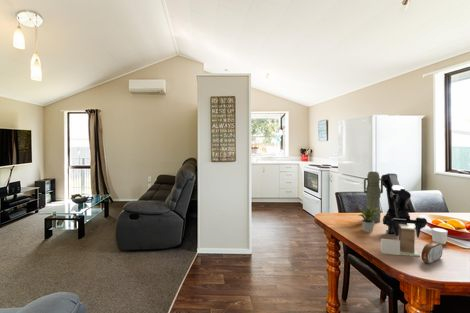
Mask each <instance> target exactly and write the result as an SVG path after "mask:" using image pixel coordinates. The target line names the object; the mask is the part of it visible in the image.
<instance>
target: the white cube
mask: <svg viewBox="0 0 470 313" xmlns="http://www.w3.org/2000/svg"><path fill="white" fill-rule="evenodd" d="M431 237H432V238H431V239H432V242H433V241H436V242H439V243H441V244H442V245H446V244H447V240H448V239H447V237H448V230H446V229H444V228H440V227H432V228H431Z"/></svg>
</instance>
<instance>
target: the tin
mask: <svg viewBox="0 0 470 313" xmlns="http://www.w3.org/2000/svg"><path fill="white" fill-rule="evenodd" d="M443 248H444V244H441V243H439V242H436V241H433V240H432V241H431V242H429V243H426V244H424V245H423V248H422V250H421V255H420V258H421V261H422V262H425V263H428V264H433V263H435V262H436V261H439V260H440V259H441V257H442V256H443Z"/></svg>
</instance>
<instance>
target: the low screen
mask: <svg viewBox="0 0 470 313" xmlns="http://www.w3.org/2000/svg"><path fill="white" fill-rule="evenodd" d="M380 253H381V254H387V255H395V256H400V240H399V239H392V238H391V239H389V238H380Z"/></svg>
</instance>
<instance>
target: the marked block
mask: <svg viewBox="0 0 470 313" xmlns="http://www.w3.org/2000/svg"><path fill="white" fill-rule="evenodd" d="M415 232H416V229H415V227H414V226H413V225H412V224H407V225H406V224H399V235H398V240H400V250H401V252H408V253H414V249H415V241H416V240H415V239H416V238H415V236H416V235H415Z"/></svg>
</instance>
